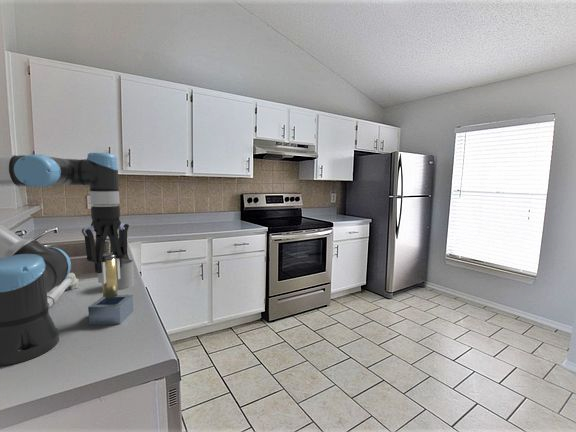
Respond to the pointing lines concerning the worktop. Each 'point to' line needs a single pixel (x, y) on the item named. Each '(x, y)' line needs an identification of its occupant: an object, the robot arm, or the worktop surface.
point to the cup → (126, 275)
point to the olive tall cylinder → (110, 276)
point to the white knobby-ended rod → (62, 288)
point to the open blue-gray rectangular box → (110, 310)
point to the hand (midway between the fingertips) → (109, 280)
